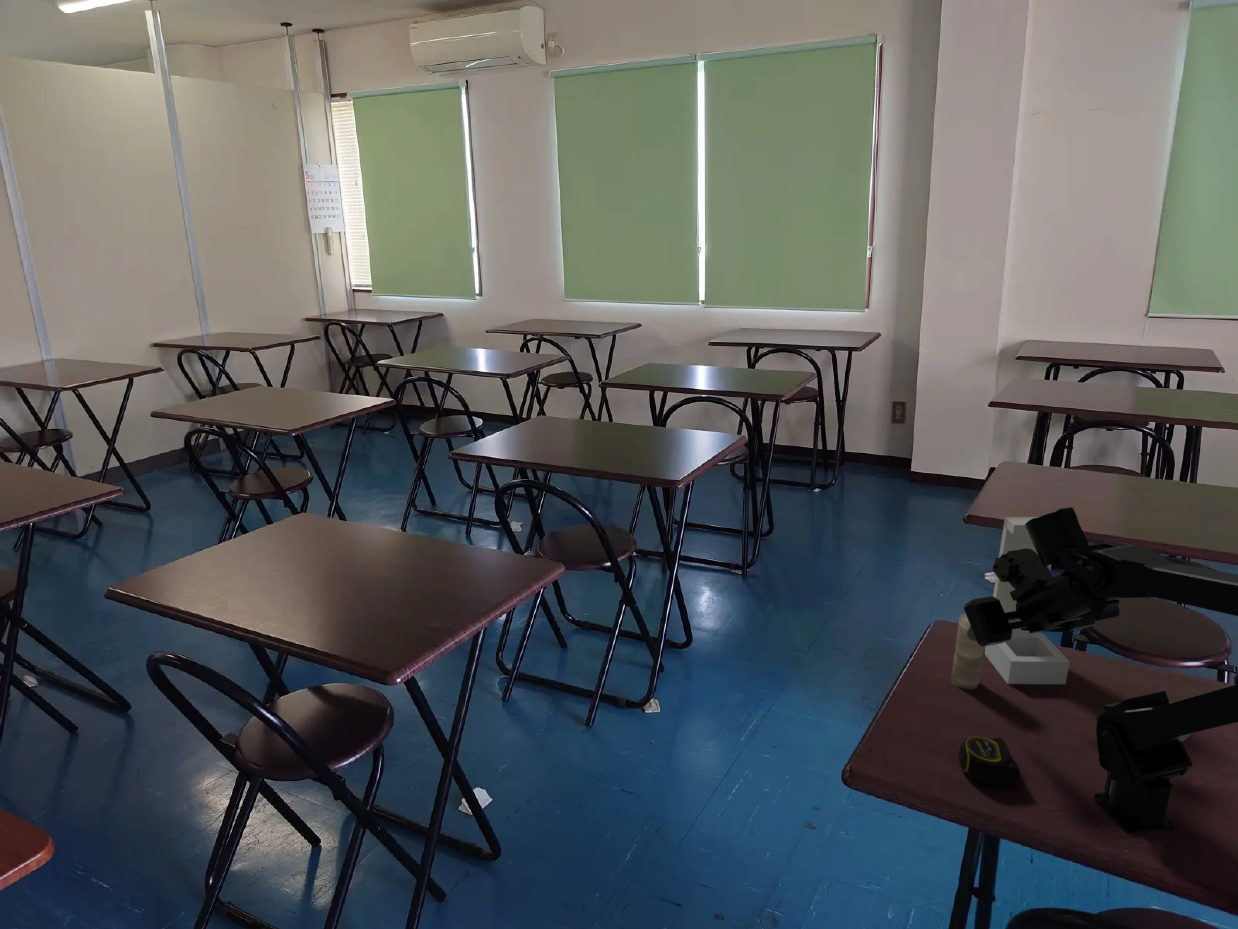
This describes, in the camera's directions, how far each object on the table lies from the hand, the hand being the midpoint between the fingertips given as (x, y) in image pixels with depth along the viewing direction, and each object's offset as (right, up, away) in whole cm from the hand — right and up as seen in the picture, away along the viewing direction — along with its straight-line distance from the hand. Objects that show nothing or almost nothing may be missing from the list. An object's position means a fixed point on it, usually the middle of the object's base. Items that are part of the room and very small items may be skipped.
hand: (994, 631), depth 126 cm
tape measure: (-6, -16, -13) cm, 22 cm away
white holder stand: (+10, -8, +11) cm, 17 cm away
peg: (-1, -9, +8) cm, 12 cm away
